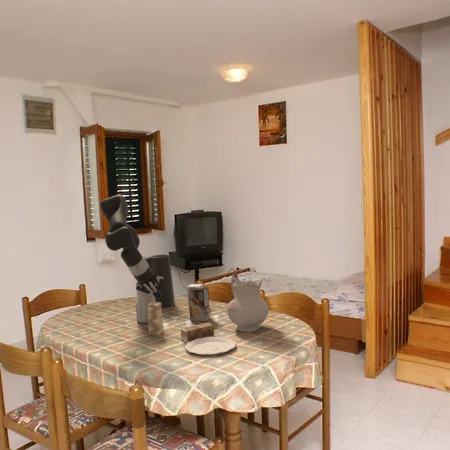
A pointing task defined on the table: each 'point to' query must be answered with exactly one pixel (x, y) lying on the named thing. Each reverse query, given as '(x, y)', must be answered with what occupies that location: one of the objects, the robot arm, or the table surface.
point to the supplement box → (193, 286)
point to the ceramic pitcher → (247, 305)
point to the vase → (164, 280)
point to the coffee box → (199, 303)
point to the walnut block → (197, 332)
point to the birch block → (155, 318)
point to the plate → (210, 345)
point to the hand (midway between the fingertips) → (159, 296)
